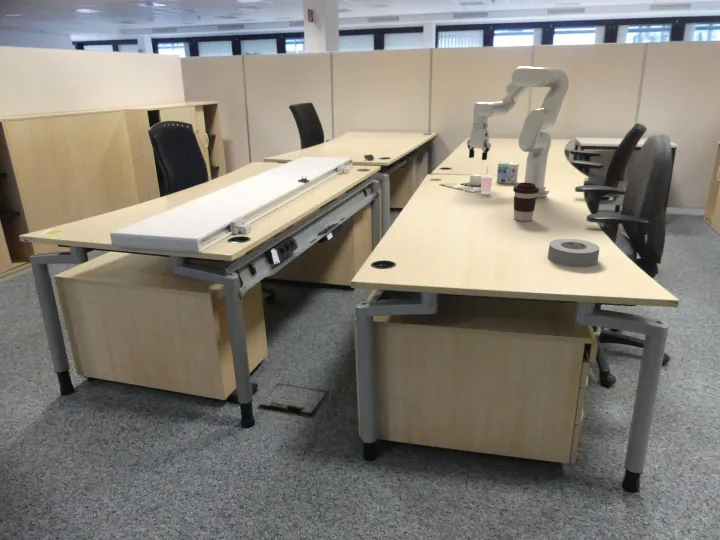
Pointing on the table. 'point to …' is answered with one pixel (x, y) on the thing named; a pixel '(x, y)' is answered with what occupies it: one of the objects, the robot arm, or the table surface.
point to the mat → (471, 185)
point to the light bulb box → (507, 172)
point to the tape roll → (573, 252)
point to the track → (461, 187)
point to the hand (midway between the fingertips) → (477, 158)
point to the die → (475, 179)
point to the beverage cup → (486, 183)
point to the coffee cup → (524, 201)
